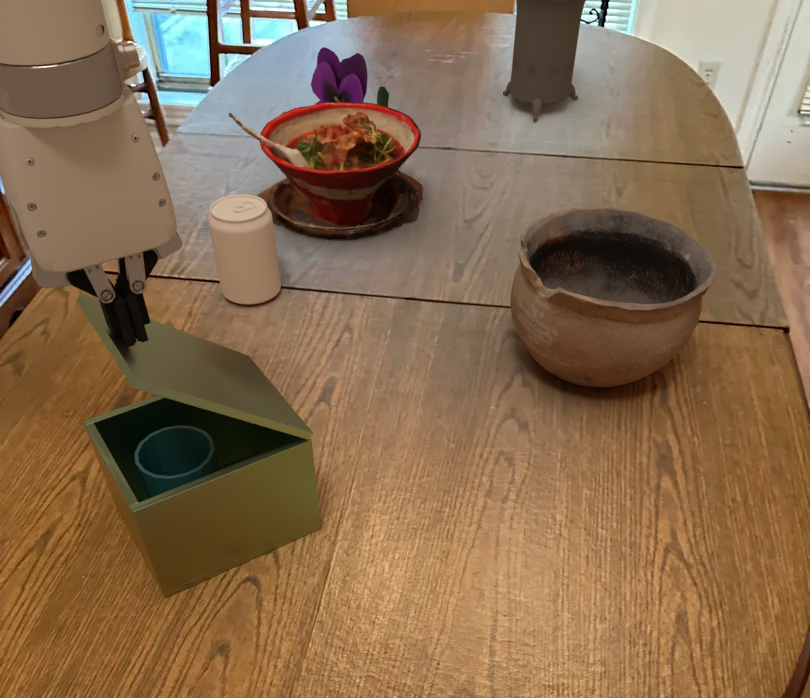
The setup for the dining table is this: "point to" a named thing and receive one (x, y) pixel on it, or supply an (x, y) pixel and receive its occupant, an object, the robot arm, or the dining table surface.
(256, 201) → the beverage can
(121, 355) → the bin lid
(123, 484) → the bin
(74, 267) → the robot arm
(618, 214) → the ceramic bowl
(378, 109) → the stew
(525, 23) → the grey footed vase
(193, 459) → the cup
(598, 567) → the dining table surface
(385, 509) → the dining table surface
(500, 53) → the dining table surface
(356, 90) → the flower
